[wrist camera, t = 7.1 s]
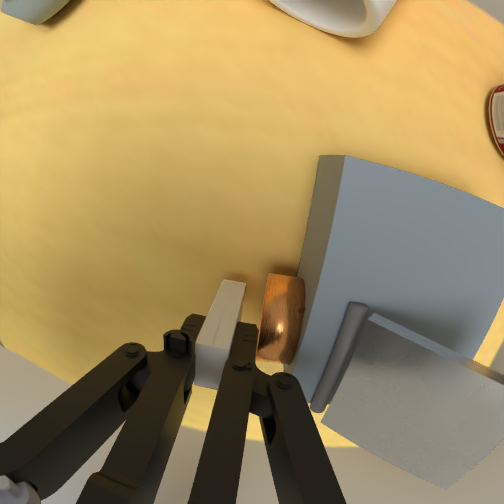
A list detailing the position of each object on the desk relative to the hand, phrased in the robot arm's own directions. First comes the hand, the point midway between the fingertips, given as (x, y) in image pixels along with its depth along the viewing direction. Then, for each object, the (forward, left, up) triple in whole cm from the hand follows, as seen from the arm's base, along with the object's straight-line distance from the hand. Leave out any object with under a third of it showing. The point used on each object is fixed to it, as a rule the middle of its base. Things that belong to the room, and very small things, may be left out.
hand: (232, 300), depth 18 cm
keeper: (+10, 0, +9) cm, 13 cm away
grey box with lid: (+10, +3, -2) cm, 11 cm away
